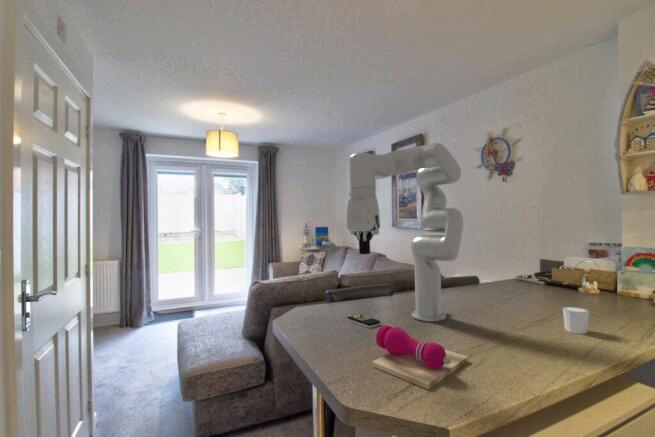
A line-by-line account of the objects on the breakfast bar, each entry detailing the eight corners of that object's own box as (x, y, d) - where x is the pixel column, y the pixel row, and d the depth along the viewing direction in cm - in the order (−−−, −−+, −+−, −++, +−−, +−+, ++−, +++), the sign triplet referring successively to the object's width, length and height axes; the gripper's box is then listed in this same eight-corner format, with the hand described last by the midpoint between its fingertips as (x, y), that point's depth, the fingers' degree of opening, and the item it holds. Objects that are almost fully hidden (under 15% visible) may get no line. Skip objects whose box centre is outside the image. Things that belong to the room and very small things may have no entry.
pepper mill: (393, 329, 93) (460, 353, 78) (383, 352, 90) (450, 382, 75) (381, 318, 89) (449, 341, 74) (371, 342, 86) (439, 371, 71)
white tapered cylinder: (583, 328, 106) (583, 307, 106) (593, 335, 100) (592, 313, 100) (559, 326, 109) (559, 305, 109) (567, 333, 102) (567, 311, 102)
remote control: (370, 329, 110) (369, 323, 110) (345, 321, 120) (345, 315, 120) (381, 325, 114) (381, 320, 114) (357, 317, 124) (357, 312, 124)
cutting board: (414, 344, 96) (414, 340, 96) (467, 361, 84) (467, 356, 84) (372, 366, 82) (372, 361, 82) (428, 389, 70) (428, 384, 70)
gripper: (337, 195, 100) (339, 253, 100) (374, 191, 89) (376, 256, 89) (353, 196, 105) (355, 251, 105) (390, 192, 94) (392, 254, 94)
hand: (364, 253), depth 97 cm, fingers closed
